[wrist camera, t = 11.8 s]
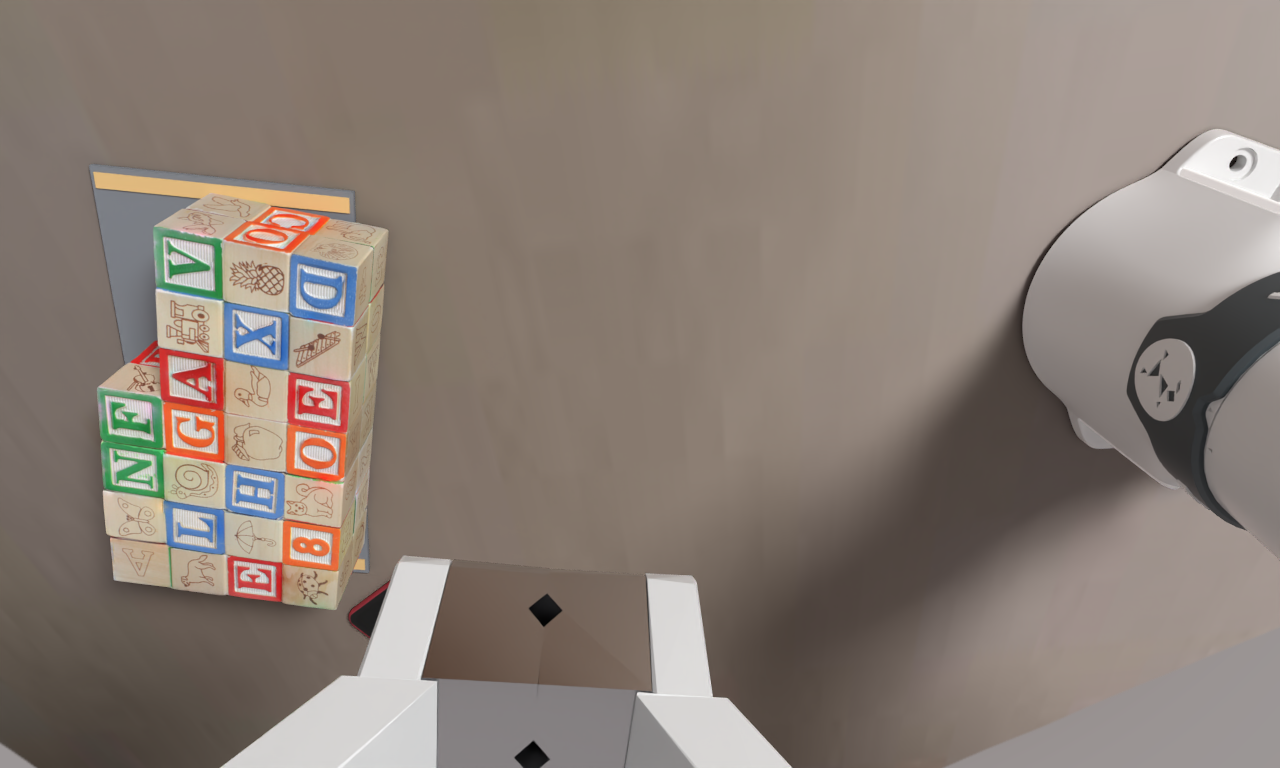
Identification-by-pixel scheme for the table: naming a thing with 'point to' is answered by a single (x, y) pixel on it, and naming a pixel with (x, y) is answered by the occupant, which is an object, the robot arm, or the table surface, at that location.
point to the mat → (152, 197)
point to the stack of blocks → (248, 406)
